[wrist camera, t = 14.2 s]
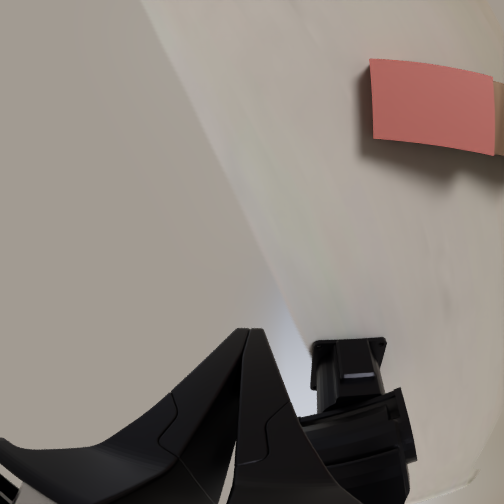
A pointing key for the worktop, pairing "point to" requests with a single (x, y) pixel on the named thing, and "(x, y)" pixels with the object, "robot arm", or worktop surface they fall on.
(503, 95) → the domino
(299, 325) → the worktop surface
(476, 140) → the domino
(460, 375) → the worktop surface
